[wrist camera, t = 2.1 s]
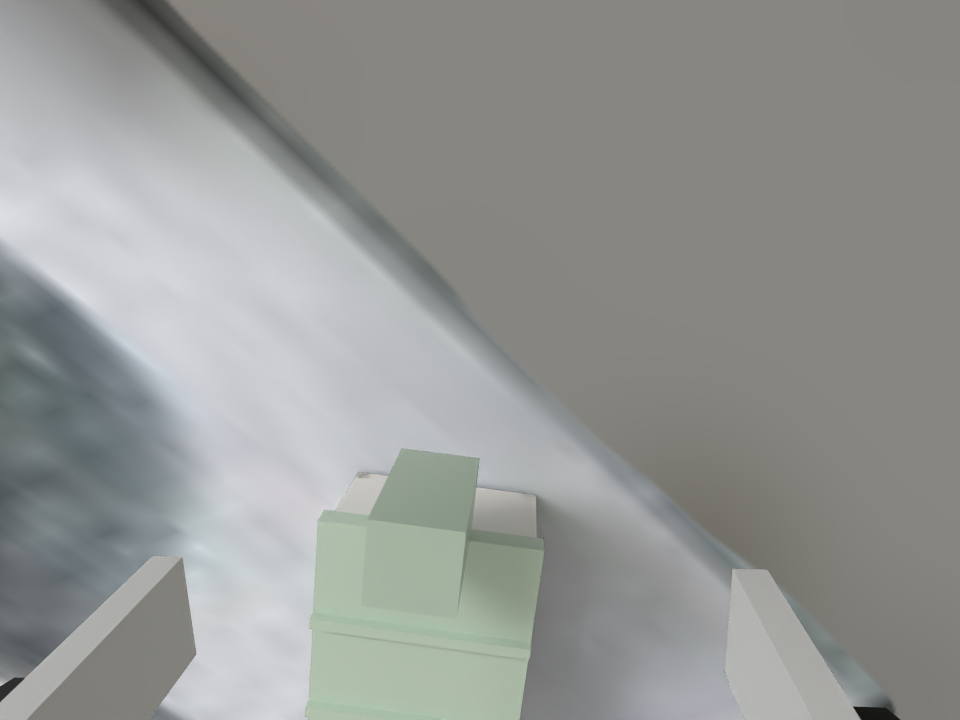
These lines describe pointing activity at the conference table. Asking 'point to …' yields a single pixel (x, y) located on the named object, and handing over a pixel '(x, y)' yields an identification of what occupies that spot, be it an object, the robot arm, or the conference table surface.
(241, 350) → the conference table surface
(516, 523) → the tub
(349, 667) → the lid
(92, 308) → the conference table surface
